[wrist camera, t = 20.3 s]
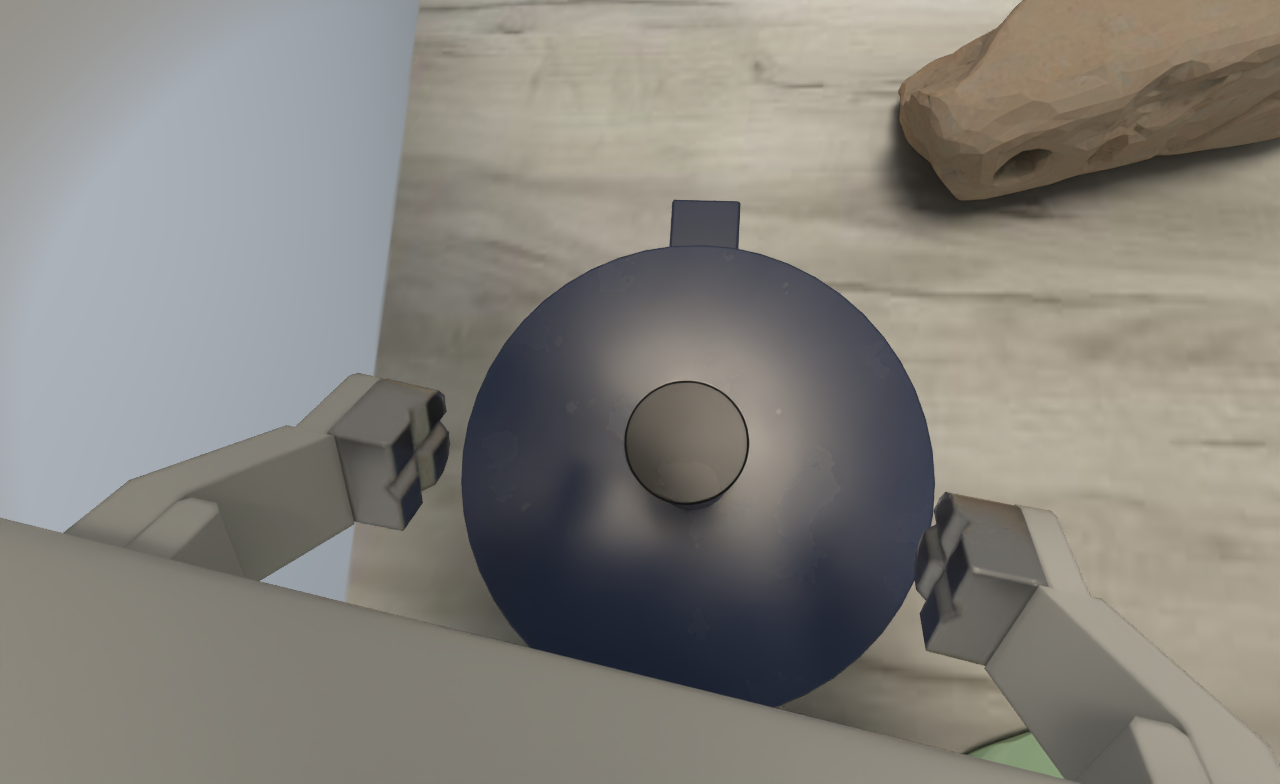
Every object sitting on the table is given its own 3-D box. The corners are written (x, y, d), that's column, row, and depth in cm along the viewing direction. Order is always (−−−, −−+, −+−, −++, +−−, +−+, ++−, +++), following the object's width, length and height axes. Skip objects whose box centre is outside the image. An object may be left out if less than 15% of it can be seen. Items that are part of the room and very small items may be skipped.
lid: (448, 684, 21) (296, 785, 13) (497, 251, 24) (396, 116, 16) (923, 732, 20) (1075, 877, 12) (921, 265, 23) (1044, 125, 14)
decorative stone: (895, 235, 33) (977, 116, 23) (857, 100, 34) (919, -65, 25) (1319, 144, 32) (1593, -20, 22) (1261, 10, 33) (1492, -200, 24)
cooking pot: (532, 683, 31) (447, 767, 20) (569, 286, 34) (513, 185, 24) (837, 713, 29) (912, 819, 19) (844, 296, 33) (911, 194, 22)
